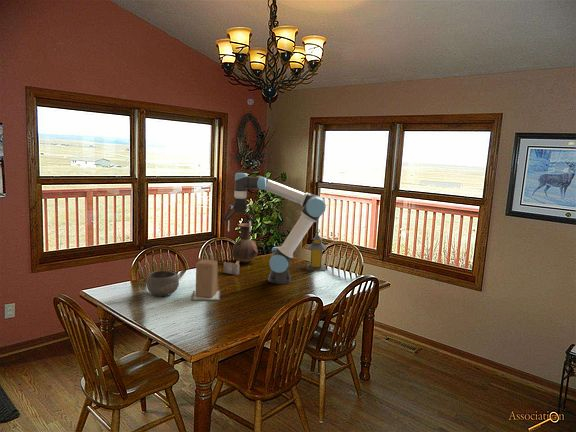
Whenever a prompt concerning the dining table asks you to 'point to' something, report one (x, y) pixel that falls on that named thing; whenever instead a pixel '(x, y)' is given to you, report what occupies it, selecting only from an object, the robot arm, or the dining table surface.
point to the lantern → (316, 254)
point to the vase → (244, 245)
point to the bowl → (162, 282)
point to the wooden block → (206, 278)
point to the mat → (214, 298)
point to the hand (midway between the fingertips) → (239, 231)
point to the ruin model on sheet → (231, 268)
